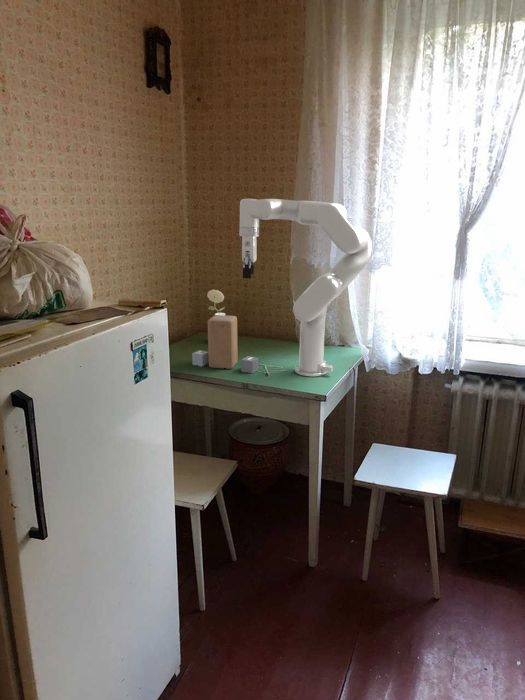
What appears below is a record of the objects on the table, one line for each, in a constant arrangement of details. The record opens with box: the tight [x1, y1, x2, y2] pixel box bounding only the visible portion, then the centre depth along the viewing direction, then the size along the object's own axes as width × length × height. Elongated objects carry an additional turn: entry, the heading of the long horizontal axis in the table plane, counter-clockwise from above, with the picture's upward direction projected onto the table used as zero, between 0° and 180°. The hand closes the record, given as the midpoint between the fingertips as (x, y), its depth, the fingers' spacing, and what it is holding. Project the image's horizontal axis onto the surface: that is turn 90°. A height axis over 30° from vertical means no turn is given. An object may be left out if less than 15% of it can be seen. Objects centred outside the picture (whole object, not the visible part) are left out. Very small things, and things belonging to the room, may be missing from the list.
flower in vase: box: [206, 289, 226, 315], centre depth 244 cm, size 13×11×25 cm
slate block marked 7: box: [191, 349, 209, 367], centre depth 215 cm, size 5×5×5 cm
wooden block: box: [207, 314, 239, 370], centre depth 211 cm, size 10×10×20 cm
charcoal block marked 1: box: [240, 355, 260, 374], centre depth 207 cm, size 5×5×5 cm
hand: (248, 276), depth 206 cm, fingers open, 9 cm apart
